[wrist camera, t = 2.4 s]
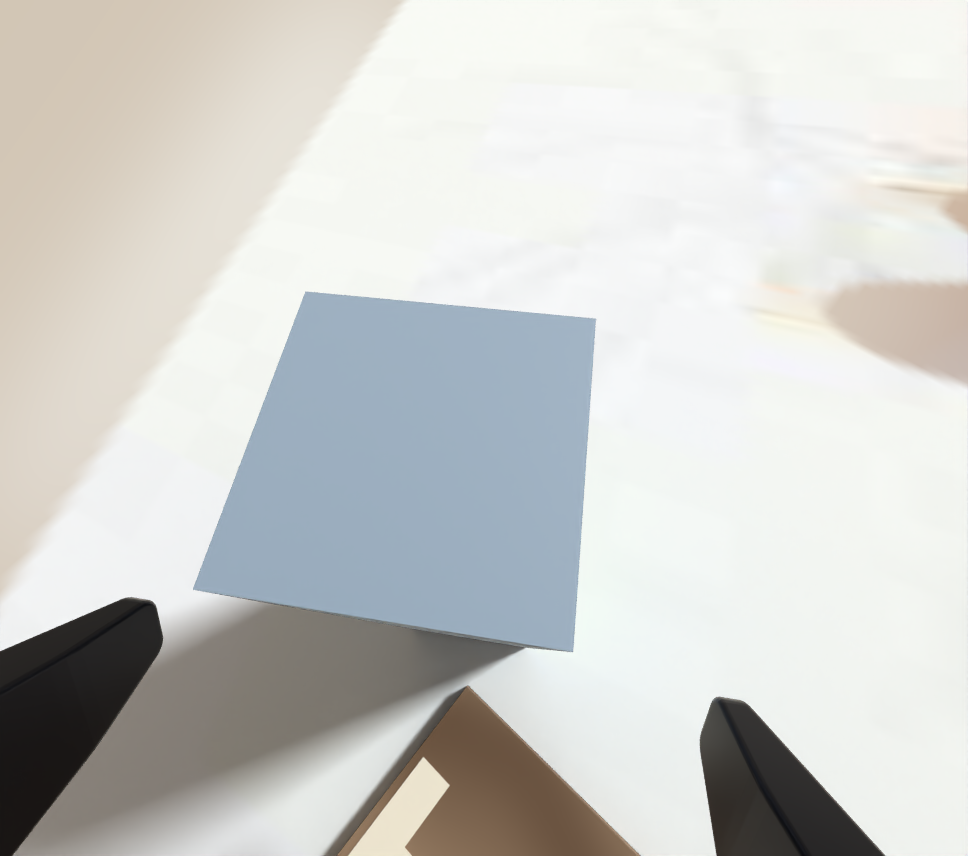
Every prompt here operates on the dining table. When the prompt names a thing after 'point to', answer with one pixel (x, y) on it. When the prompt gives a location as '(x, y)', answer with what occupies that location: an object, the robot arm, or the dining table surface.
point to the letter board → (481, 799)
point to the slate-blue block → (417, 471)
